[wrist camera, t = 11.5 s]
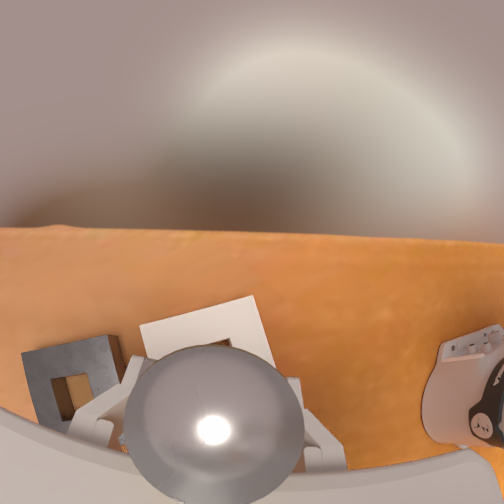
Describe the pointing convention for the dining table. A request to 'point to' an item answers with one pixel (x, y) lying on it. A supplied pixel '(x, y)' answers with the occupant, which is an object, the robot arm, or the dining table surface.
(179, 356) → the shiny cylindrical peg
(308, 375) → the dining table surface
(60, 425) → the socket block
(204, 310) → the rack block
